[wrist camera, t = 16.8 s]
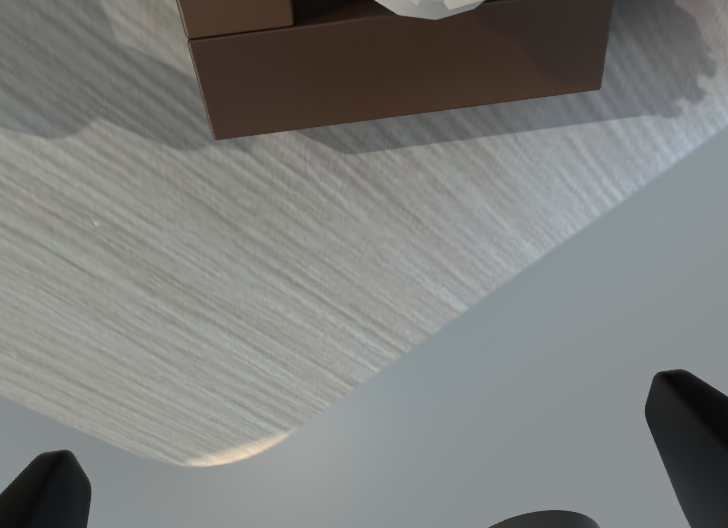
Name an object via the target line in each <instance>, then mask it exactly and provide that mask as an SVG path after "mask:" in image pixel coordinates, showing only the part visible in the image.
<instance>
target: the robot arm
mask: <svg viewBox="0 0 728 528" xmlns="http://www.w3.org/2000/svg"><path fill="white" fill-rule="evenodd" d="M645 416H646V420H647V423H648V426H649V428H650V431H651V433H652V435H653V438H654V441H655V443H656V446H657V448H658V451H659V453H660V456H661V458H662V461H663V463H664V466H665V468H666V470H667V473H668V476H669V478H670V481H671V483H672V486H673V488H674V491H675V493H676V496H677V498H678V501H679V503H680V505H681V508H682V510H683V512H684V515H685V517H686V519H687V520H688V522H689V525H690V527H691V528H728V397H727V396H726V395H724V394H723V393H721V392H720V391H718V390H716V389H715V388H713V387H712V386H710V385H709V384H707V383H706V382H704V381H702V380H701V379H699V378H698V377H696V376H695V375H693V374H691V373H690V372H688V371H685V370H682V369H677V370H669V371H662V372H658V373H657V374H656V375H655V376H654V378H653V381H652V385H651V388H650V392H649V395H648V398H647V402H646V405H645ZM90 501H91V485H90V481H89V479H88V477H87V476H86V474H85V473H84V471H83V469H82V468H81V466H80V464H79V462H78V461H77V459H76V458H75V456H74V454H73V453H72V452H70V451H68V450H59V451H51V452H45V453H42V454H40V455H38V456H37V457H36V458H35V459H34V460H33V461H32V462H31V463H30V464H29V465H28V466H27V467H26V468H25V469H24V470H23V471H22V472H21V474H19V476H18V477H17V478H16V479H15V480H14V481H13V482H12V483H11V484H10V485H9V486H8V487H7V488H6V489H5V490H4V491H3V492H2V493H1V494H0V528H87V522H88V515H89V509H90Z"/></svg>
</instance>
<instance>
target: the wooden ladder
mask: <svg viewBox="0 0 728 528" xmlns="http://www.w3.org/2000/svg"><path fill="white" fill-rule="evenodd" d="M613 1H614V0H485V1H483V2H482V3H481V4H480V5H478V6H477V7H476V8H474V9H472V10H468V11H465V12H461V13H458V14H455V15H451V16H448V17H444V18H441V19H437V20H433V19H426V18H418V17H410V16H402V15H398V14H396V13H394V12H393V11H391V10H390V9H388V8H386V7H385V6H383V5H382V4H380V3H378V2H377V1H375V0H176V2H177V6H178V9H179V13H180V17H181V20H182V24H183V28H184V31H185V35H186V37H187V38H189V39H188V47H189V51H190V55H191V58H192V62H193V66H194V69H195V73H196V77H197V80H198V84H199V88H200V92H201V95H202V99H203V103H204V106H205V110H206V114H207V117H208V121H209V125H210V129H211V132H212V136H213V139H214V140H223V139H230V138H238V137H245V136H253V135H260V134H268V133H275V132H283V131H291V130H298V129H306V128H313V127H321V126H328V125H336V124H344V123H351V122H359V121H366V120H374V119H381V118H389V117H397V116H404V115H412V114H419V113H427V112H434V111H442V110H449V109H457V108H465V107H472V106H480V105H487V104H495V103H502V102H510V101H518V100H525V99H533V98H540V97H548V96H555V95H563V94H571V93H578V92H586V91H593V90H599V89H600V88H601V82H602V75H603V69H604V62H605V55H606V48H607V42H608V35H609V28H610V21H611V14H612V8H613Z"/></svg>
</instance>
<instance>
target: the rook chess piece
mask: <svg viewBox="0 0 728 528" xmlns="http://www.w3.org/2000/svg"><path fill="white" fill-rule="evenodd" d="M375 1H377V2H378V3H380V4H382V5H383V6H385V7H386V8H388V9H390V10H391V11H393V12H394V13H396V14H398V15H402V16H410V17H418V18H426V19H433V20H437V19H441V18H444V17H448V16H451V15H455V14H458V13H461V12H465V11H468V10H472V9H474V8H476V7H477V6H478V5H480V4H481V3H482V2H483V1H485V0H375Z"/></svg>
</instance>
